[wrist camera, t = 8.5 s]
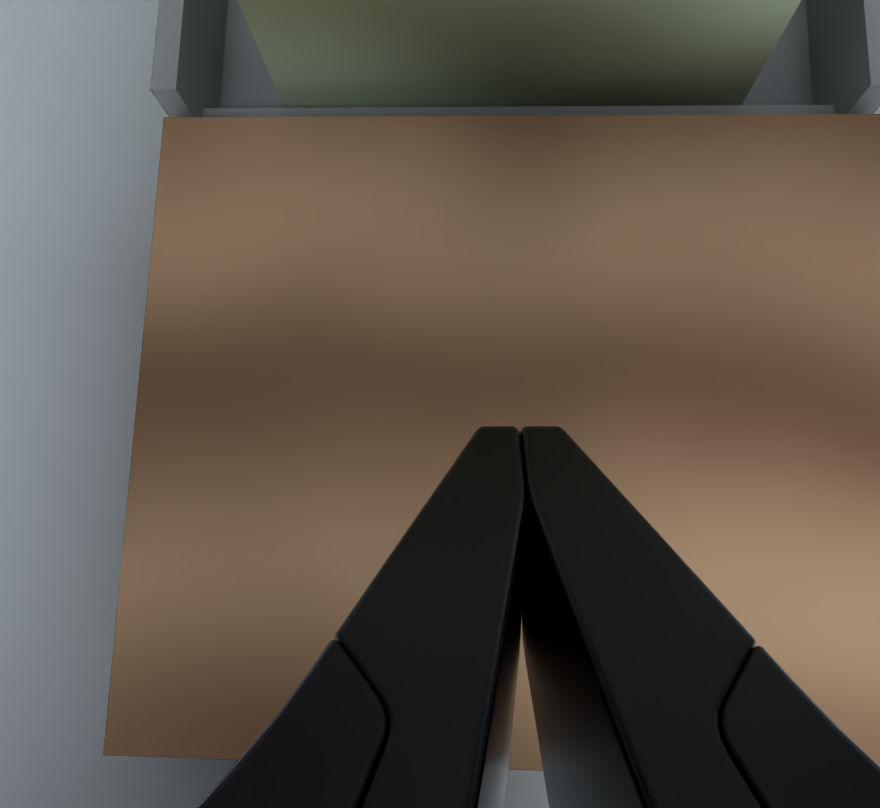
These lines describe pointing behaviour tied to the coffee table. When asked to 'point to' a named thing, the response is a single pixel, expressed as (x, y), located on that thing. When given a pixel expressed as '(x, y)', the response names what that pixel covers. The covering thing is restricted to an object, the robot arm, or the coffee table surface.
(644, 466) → the tan square tile
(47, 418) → the coffee table surface
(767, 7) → the block
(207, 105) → the box
